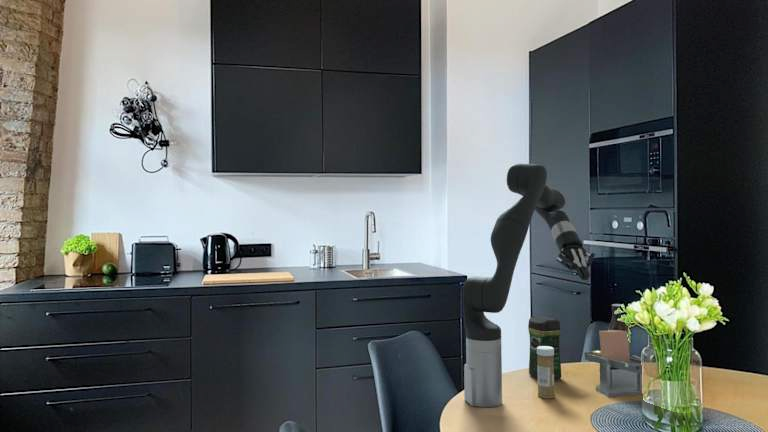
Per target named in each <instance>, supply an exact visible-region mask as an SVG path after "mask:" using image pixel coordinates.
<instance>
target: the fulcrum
mask: <svg viewBox="0 0 768 432" xmlns="http://www.w3.org/2000/svg"><path fill="white" fill-rule="evenodd" d="M631 358H635V359H640V360H641V358H642V357H640V356H637V355H631ZM595 391H597V392H598V393H600V394H602V395H603V396H606V397H607V398H610V397H611V398H613V397H626V396H639V395H641V396H642V395H643V394H642V373H640V374H638V373H634V372H630V371H626V370H623V369H619V368H615V367H610V361H609V360H607V359H605V358H603V357H600V363H599V386H595Z"/></svg>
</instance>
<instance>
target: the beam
mask: <svg viewBox="0 0 768 432" xmlns="http://www.w3.org/2000/svg"><path fill="white" fill-rule="evenodd" d="M603 358H604V357H603ZM605 359H607V360H609V361H610V367H615V368H619V369H623V370H626V371H630V372H634V373H638V374H640V373H642V365H641V360H640V359H635V358H632V356H631V357H630V360H629V361H616V360H612V359H608V358H605ZM584 360H586V361H588V362H589V361H590V362H592V363H593V362H594V363H598V364H600V356H596V355H593V351H584Z"/></svg>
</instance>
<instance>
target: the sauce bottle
mask: <svg viewBox="0 0 768 432" xmlns="http://www.w3.org/2000/svg"><path fill="white" fill-rule="evenodd" d="M621 305H624V306H625V307H626V305H625V304H621V303H613V304H611V313H612V314H611V315H612V316H611V319H610V320H611V321H610V323H609V326H608V330H619V331H627V333H628V327H629V326H628V327H627V325H625V324H624V323H622V322H620V321H617V319H618V318H619V317H620V316H621V315H622V314H617V315H615V314H614V311H615V310H616V309H617V308H619V307H620V306H621ZM628 346H629V347H630V341H629V342H628ZM630 353H631V352H629V356H631V355H630Z"/></svg>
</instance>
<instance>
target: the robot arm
mask: <svg viewBox="0 0 768 432" xmlns="http://www.w3.org/2000/svg"><path fill="white" fill-rule="evenodd" d="M547 179H548V172H547V169H546V167H544V165H541V164H537V163H535V164H534V163H514V164H512V165H510V167H509V168H508V171H507V172H506V185H507V188H508V190H509V191H510V192H512V193H515V194H518V195H520V196H521V198H520V199H519V200H518V201H516V202H515V203H513V204H512V205H510V206H509V207H508V208H506V210H504V211H503V212H502V213H501V214H500V215H499V216H497V219H496V221H495V223H494V226H493V229H492V232H491V234H490V244H491V248H492V251H493V254H494V256H495V259H496V269H495V272H494V275H493V276H492V277H489V276H470V277H468V278H466V279H465V281H464V283H463V288H462V298H461V299H462V311H463V326H464V329H465V338H466V339H465V341H466V342H465V346H466V347H465V348H466V349H465V350H466V351H465V352H466V354H465V355H466V356H465V357H466V359H465V361H466V363H464V365H463V372H464V373H463V375H464V376H463V383H464V387H463V388H464V391H463V392H464V394H463V395H464V400H465V401H466V402H467V403H468V404H469V406H470V407H479V408H494V407H499V406H501V405H502V404H503V385H502V384H503V375H502V374H503V372H502V369H503V367H502V364H503V363H502V362H503V361H502V359H503V358H502V329H501V326H499V325H498V324H497V323H494V321H493V322H492V321H491V320H490V319H489V318H487V316H486V315H485V313H492V314H498V313H500V312H502V311H503V309H504V308H505V306H506V304H507V300H508V298H509V293H510V289H511V285H512V282H513V281H512V280H513V277H514V271H515V269H516V266H517V262H518V259H519V256H520V253H521V251H522V248H523V246H524V243H525V240H526V237H527V234H528V230H529V228H530V224H531V221H532V218H533V215H534V212H535V211H536V214H538V215H539V217H541V218H542V219H543V220H544V221H545V222H546V224H547V226H548V228H549V230H550V232H551V235H552V238H553V240H554V242H555V245H556V247H557V249H558V251H559V254H558V255H557V257H556V261H557V262H558V263H559V264H561V265H562V266H564V267H565V268H567V269H568V270H569V271H575V272H576V273H577V275H578V277H579V278H580V279H581V280H582V281H589V278H590V277H591V275H590V272H589V268H590V267H591V265H592V263H593V261H594V258H595V256H596V254H595V253H593V252H591V253H589V252H587V250H586V249H585V248H584V247H583V242H582V240H581V238H580V236H579V235H578V232H577V229H576V228H575V227H574V226H573V224H572V223H571V220H570V218H569V216H568V215H567V213H566V212H565V211H563V210H562V209H563V208H564V207H565V205H566V199H565V196H564V195H563V193H561V192H560V191H559V190H557V189H554V188H550V187H548V185H546V184H547Z"/></svg>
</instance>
